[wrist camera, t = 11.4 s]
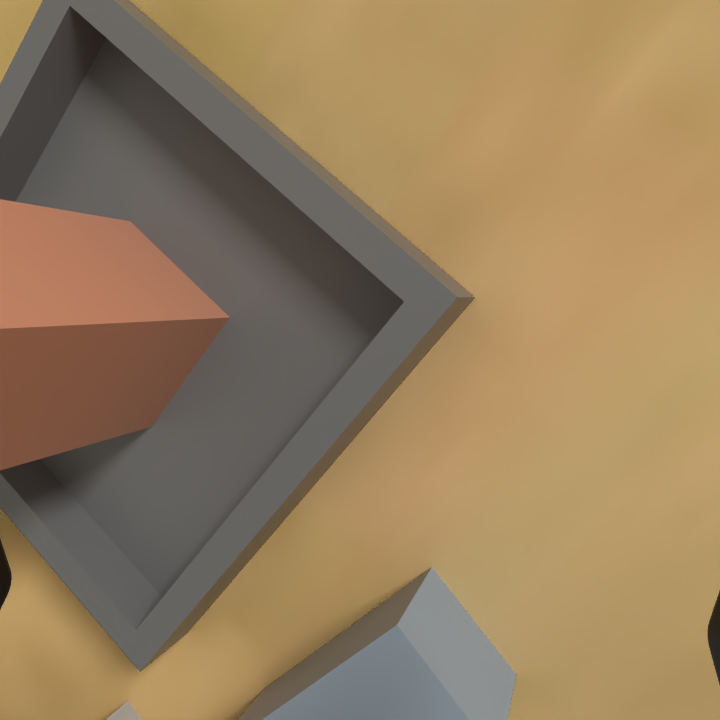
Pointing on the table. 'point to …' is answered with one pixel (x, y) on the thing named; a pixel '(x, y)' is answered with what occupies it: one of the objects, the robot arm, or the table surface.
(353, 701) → the slate brick
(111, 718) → the grey brick
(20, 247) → the column
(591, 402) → the table surface
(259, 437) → the tray
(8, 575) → the robot arm
